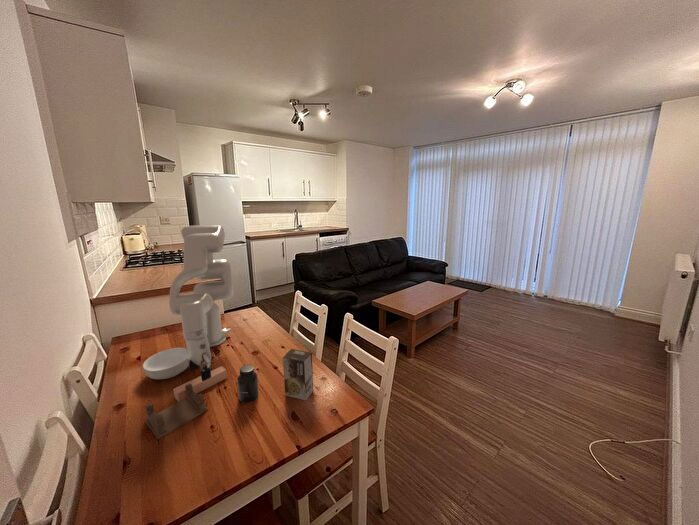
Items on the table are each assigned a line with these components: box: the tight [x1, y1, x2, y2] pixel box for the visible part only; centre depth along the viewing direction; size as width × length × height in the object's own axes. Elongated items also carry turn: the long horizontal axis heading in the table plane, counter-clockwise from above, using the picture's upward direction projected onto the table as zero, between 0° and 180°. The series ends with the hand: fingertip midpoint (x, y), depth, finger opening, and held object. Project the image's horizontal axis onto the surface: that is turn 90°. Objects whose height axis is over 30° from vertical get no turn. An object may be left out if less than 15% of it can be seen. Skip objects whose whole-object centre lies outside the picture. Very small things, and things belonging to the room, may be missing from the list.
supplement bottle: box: [237, 364, 259, 404], centre depth 100 cm, size 7×7×12 cm
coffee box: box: [282, 348, 314, 401], centre depth 101 cm, size 9×6×16 cm
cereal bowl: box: [142, 347, 189, 380], centre depth 114 cm, size 17×17×7 cm
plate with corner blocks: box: [144, 384, 209, 440], centre depth 91 cm, size 15×11×6 cm
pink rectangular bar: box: [173, 365, 228, 403], centre depth 106 cm, size 18×4×4 cm, turn 142°
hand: (200, 374), depth 104 cm, fingers open, 9 cm apart
